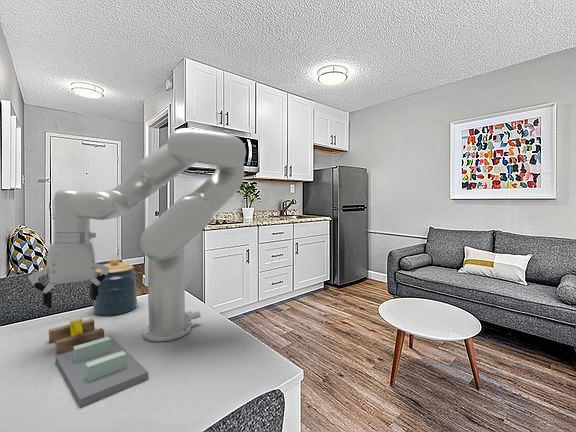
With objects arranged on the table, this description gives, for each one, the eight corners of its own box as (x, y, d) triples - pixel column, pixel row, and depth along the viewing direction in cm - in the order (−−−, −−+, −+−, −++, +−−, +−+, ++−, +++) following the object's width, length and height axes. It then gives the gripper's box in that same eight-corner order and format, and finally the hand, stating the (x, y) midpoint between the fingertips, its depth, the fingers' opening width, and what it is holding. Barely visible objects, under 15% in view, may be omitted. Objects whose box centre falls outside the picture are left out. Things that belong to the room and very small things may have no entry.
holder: (92, 329, 87) (92, 318, 87) (104, 341, 80) (104, 330, 80) (49, 340, 80) (48, 329, 80) (57, 355, 73) (57, 343, 72)
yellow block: (67, 340, 81) (66, 318, 81) (79, 337, 83) (78, 315, 83) (73, 346, 77) (72, 323, 77) (86, 342, 79) (85, 319, 79)
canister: (143, 308, 104) (142, 257, 103) (101, 320, 94) (99, 263, 93) (128, 300, 112) (127, 253, 111) (88, 309, 103) (86, 258, 102)
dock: (113, 344, 78) (112, 327, 78) (148, 378, 63) (147, 357, 63) (55, 362, 69) (54, 343, 69) (80, 407, 54) (79, 383, 54)
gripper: (105, 235, 87) (104, 293, 88) (26, 238, 75) (26, 306, 76) (113, 237, 82) (113, 299, 83) (30, 242, 70) (30, 315, 70)
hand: (71, 303), depth 79 cm, fingers open, 9 cm apart
